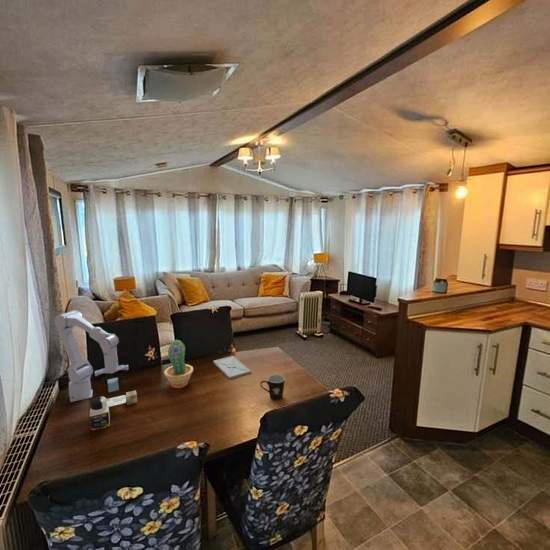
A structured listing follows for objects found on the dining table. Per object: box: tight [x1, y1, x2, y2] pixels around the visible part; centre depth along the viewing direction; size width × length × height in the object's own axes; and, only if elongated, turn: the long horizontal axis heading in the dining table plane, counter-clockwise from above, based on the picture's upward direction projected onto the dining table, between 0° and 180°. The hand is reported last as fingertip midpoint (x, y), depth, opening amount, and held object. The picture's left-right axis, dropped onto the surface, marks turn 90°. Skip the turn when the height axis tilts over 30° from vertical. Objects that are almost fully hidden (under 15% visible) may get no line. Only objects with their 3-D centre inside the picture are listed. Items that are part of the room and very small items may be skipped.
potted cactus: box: [163, 339, 194, 389], centre depth 174 cm, size 15×15×25 cm
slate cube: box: [107, 377, 120, 393], centre depth 157 cm, size 4×4×4 cm
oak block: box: [125, 389, 138, 406], centre depth 158 cm, size 4×4×4 cm
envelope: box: [212, 355, 252, 380], centre depth 195 cm, size 24×2×14 cm
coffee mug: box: [260, 374, 286, 401], centre depth 163 cm, size 12×9×10 cm
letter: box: [106, 394, 127, 408], centre depth 159 cm, size 11×8×1 cm
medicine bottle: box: [89, 396, 111, 431], centre depth 140 cm, size 7×7×12 cm
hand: (113, 386), depth 157 cm, fingers closed on slate cube, 4 cm apart
